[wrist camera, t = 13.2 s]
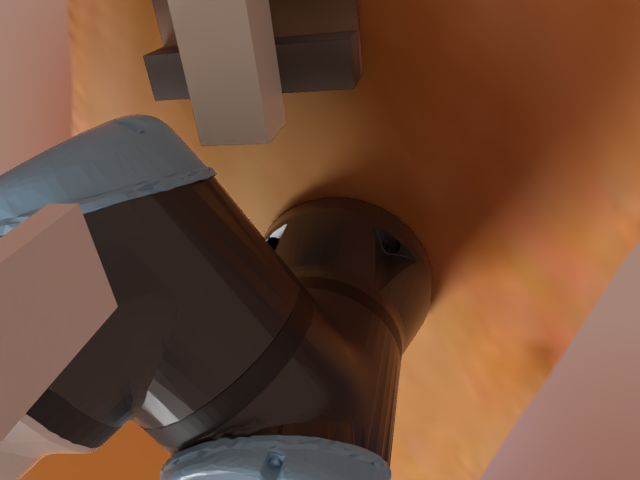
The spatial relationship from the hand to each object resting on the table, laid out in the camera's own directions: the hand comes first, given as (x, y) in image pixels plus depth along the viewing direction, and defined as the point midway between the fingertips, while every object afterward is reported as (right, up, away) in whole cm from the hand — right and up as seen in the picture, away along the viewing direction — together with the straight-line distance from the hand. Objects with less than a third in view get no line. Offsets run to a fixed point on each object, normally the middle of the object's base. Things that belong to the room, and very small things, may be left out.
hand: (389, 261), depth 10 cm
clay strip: (-7, +15, +22) cm, 28 cm away
